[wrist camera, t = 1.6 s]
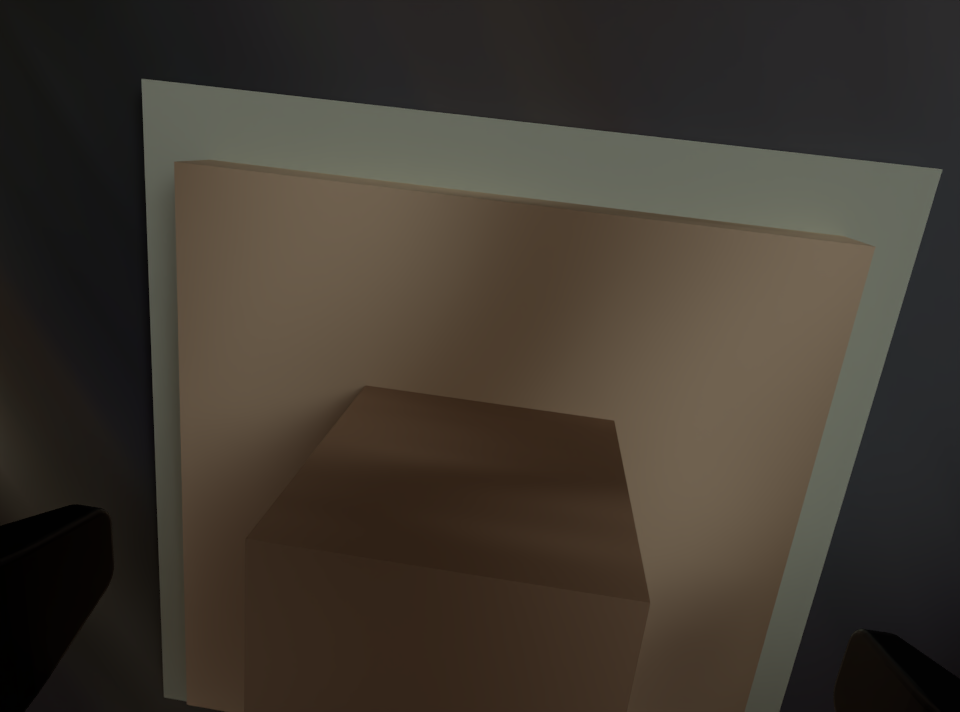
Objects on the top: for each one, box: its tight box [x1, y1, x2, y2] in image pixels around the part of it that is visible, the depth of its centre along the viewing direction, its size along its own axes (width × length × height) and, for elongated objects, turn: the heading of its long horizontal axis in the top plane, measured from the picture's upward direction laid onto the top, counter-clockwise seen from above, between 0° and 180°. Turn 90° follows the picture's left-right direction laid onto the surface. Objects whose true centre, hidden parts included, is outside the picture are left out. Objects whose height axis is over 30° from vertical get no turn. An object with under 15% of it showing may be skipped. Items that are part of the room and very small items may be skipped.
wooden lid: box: [174, 160, 875, 712], centre depth 9 cm, size 9×9×5 cm
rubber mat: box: [142, 79, 942, 712], centre depth 11 cm, size 11×11×1 cm
